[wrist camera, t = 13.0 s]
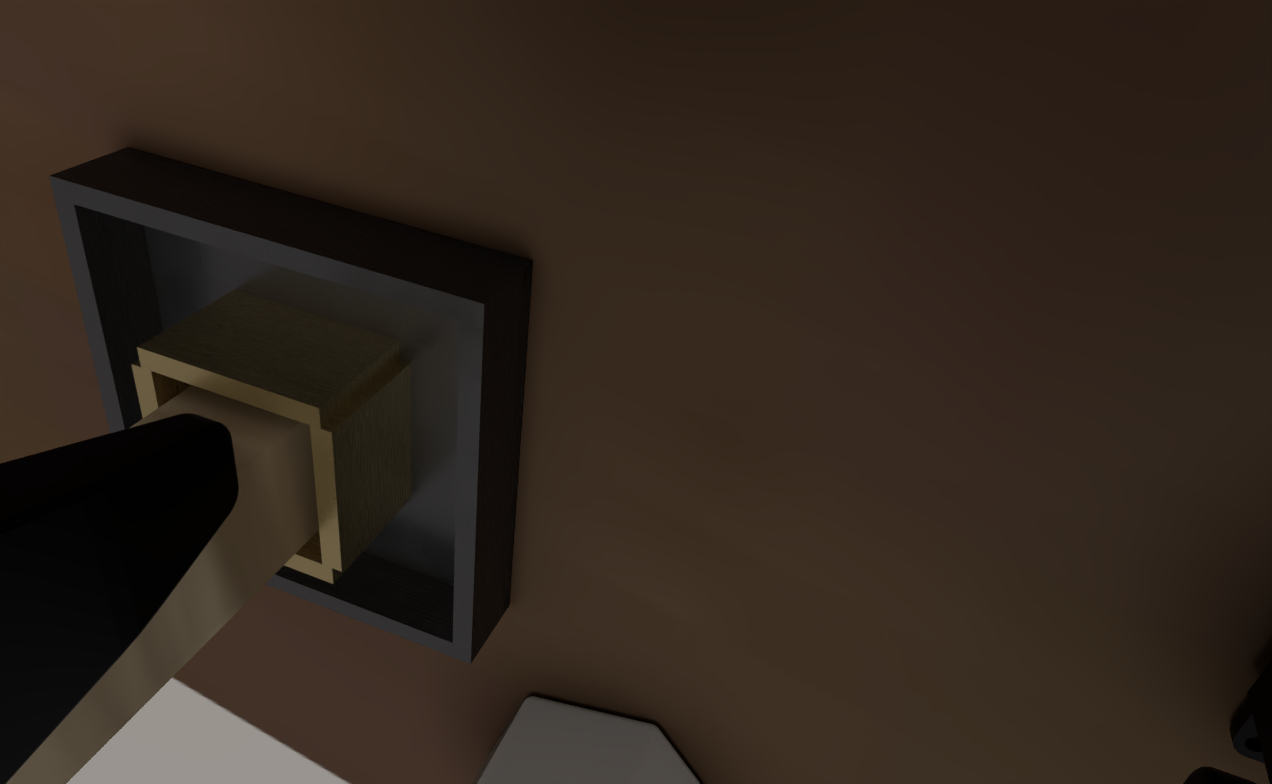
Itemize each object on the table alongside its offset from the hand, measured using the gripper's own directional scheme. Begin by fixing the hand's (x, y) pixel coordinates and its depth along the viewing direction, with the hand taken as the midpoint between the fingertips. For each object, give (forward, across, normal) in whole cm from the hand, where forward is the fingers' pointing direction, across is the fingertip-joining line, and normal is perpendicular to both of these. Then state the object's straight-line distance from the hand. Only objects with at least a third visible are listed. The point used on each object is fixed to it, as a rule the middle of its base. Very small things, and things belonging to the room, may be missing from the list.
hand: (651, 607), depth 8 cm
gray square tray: (+13, +13, +10) cm, 21 cm away
